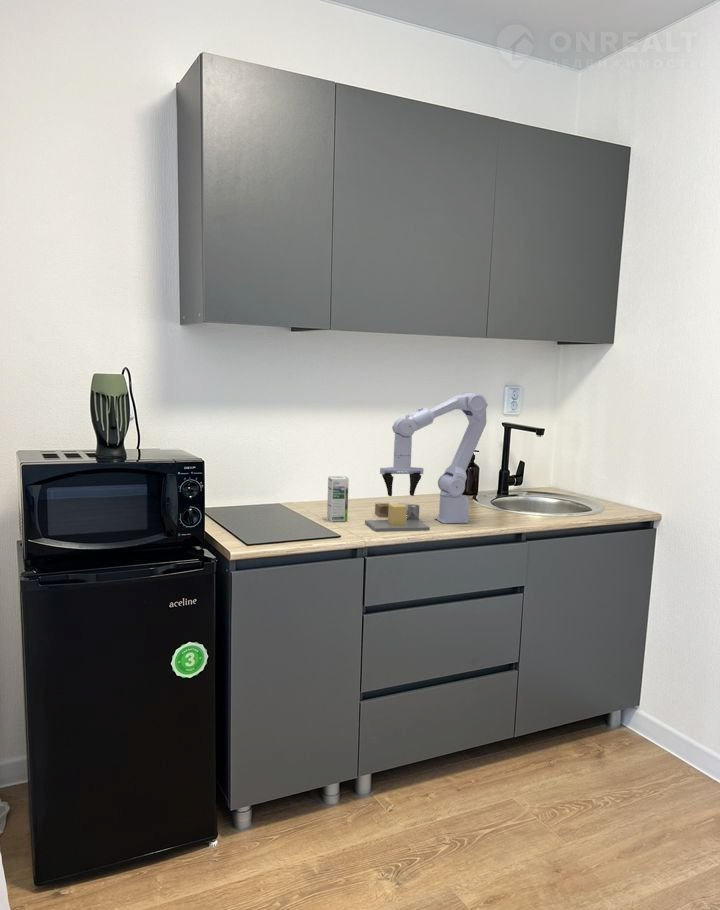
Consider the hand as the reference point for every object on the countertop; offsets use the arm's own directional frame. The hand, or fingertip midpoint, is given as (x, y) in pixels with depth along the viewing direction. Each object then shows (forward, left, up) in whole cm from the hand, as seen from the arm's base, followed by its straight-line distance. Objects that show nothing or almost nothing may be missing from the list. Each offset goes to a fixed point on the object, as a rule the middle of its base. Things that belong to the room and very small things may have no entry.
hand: (400, 495), depth 232 cm
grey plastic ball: (-5, -11, -9) cm, 15 cm away
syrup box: (+20, -5, -9) cm, 23 cm away
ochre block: (+3, +7, -8) cm, 11 cm away
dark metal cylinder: (-6, -3, -9) cm, 11 cm away
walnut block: (+2, -11, -9) cm, 14 cm away
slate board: (+3, +7, -9) cm, 12 cm away
